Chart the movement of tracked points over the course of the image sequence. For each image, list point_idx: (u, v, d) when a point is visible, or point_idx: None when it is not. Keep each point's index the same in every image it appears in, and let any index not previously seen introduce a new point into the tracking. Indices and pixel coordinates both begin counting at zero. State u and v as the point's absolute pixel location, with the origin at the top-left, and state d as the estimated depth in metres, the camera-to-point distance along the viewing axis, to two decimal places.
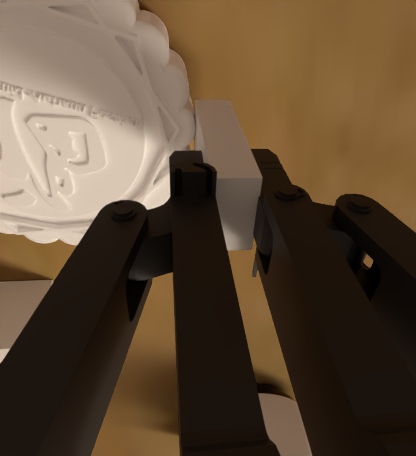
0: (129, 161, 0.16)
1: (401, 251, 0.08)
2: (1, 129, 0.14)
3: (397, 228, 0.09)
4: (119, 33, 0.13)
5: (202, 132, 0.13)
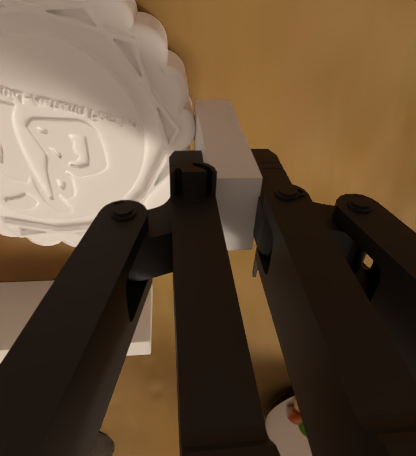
0: (129, 162, 0.16)
1: (401, 251, 0.08)
2: (2, 133, 0.14)
3: (397, 228, 0.09)
4: (117, 36, 0.13)
5: (202, 132, 0.13)
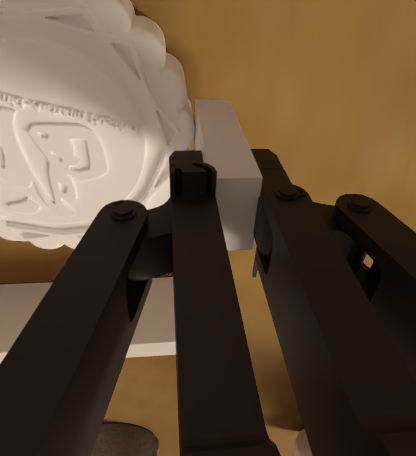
0: (130, 165, 0.16)
1: (401, 251, 0.08)
2: (3, 139, 0.14)
3: (397, 228, 0.09)
4: (115, 40, 0.13)
5: (202, 132, 0.13)
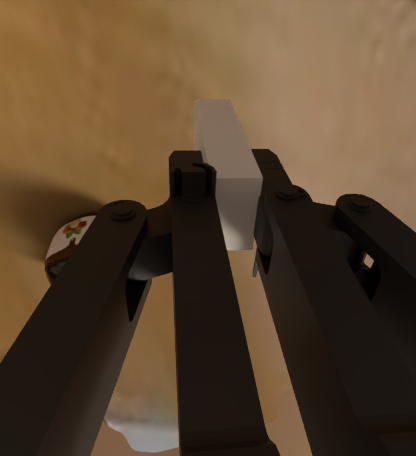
0: None
1: (401, 251, 0.08)
2: None
3: (397, 228, 0.09)
4: None
5: (202, 132, 0.13)
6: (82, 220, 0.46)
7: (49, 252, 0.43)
